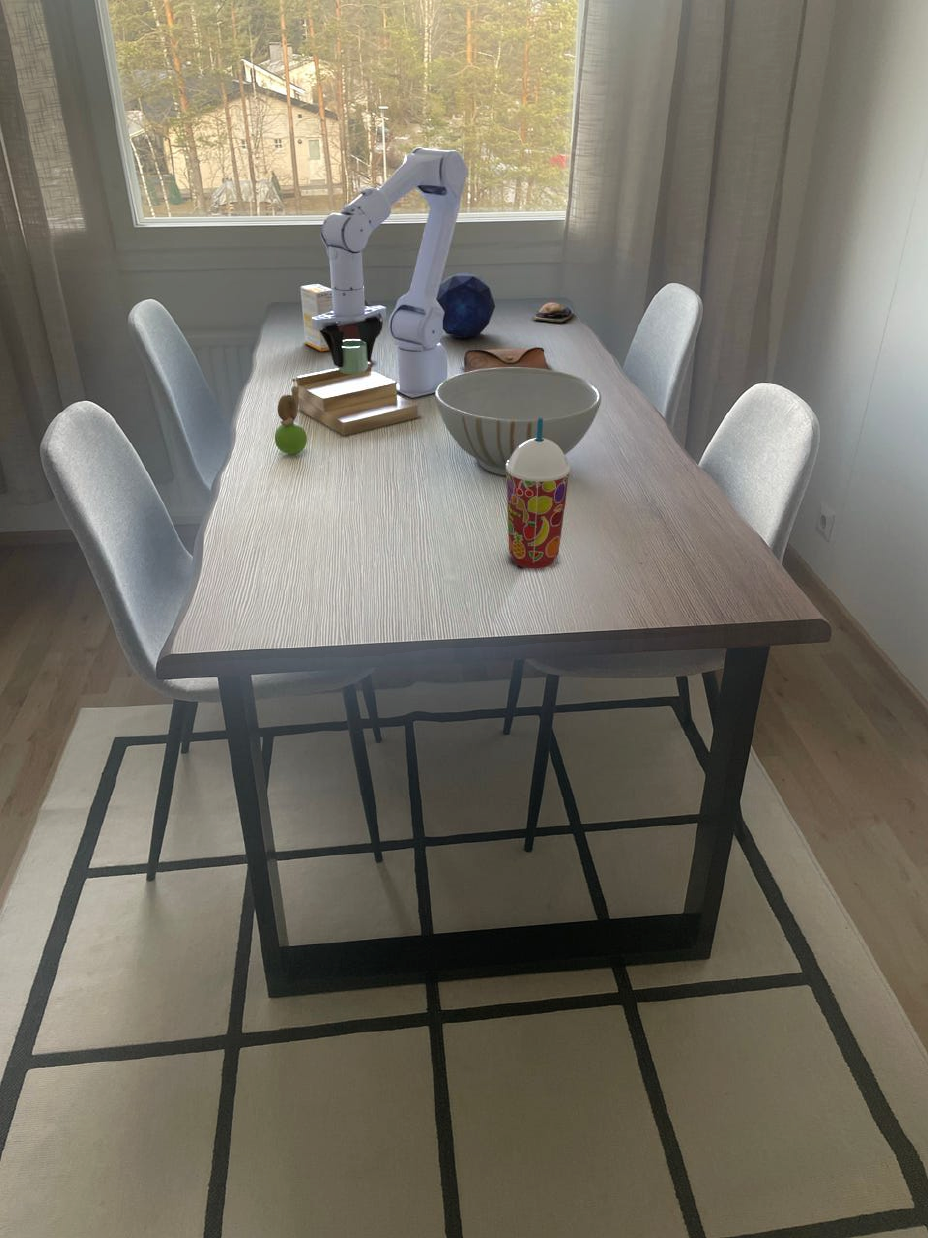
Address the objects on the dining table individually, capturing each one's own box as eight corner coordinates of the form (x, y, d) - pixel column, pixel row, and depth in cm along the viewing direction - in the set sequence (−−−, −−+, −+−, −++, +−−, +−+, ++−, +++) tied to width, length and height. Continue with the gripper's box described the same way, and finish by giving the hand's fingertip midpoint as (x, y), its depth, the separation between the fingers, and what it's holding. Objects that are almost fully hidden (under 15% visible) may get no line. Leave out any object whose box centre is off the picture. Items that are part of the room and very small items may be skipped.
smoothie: (499, 546, 129) (503, 408, 119) (558, 544, 130) (567, 406, 119) (506, 575, 122) (511, 431, 112) (568, 573, 123) (579, 430, 112)
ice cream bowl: (378, 372, 197) (374, 300, 189) (328, 369, 199) (322, 297, 191) (391, 358, 205) (388, 288, 197) (343, 355, 207) (338, 286, 199)
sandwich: (562, 324, 231) (563, 309, 229) (530, 320, 234) (531, 305, 232) (575, 314, 239) (576, 299, 237) (544, 311, 242) (545, 296, 240)
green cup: (357, 364, 175) (356, 337, 172) (373, 371, 171) (372, 344, 169) (332, 369, 172) (330, 342, 170) (348, 376, 169) (346, 349, 166)
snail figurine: (316, 447, 160) (310, 379, 154) (299, 461, 155) (292, 391, 149) (288, 443, 162) (281, 376, 156) (270, 456, 157) (262, 387, 150)
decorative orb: (516, 311, 220) (484, 254, 217) (483, 325, 209) (450, 265, 207) (475, 341, 229) (444, 286, 227) (442, 355, 219) (409, 298, 216)
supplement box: (339, 348, 212) (335, 289, 205) (320, 352, 209) (315, 292, 202) (323, 340, 217) (318, 282, 211) (304, 343, 215) (299, 285, 208)
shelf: (418, 417, 173) (417, 383, 170) (344, 435, 165) (342, 400, 162) (370, 393, 185) (368, 361, 181) (299, 409, 177) (296, 376, 173)
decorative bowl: (483, 507, 140) (484, 432, 134) (410, 448, 160) (408, 380, 154) (627, 475, 151) (635, 404, 144) (541, 424, 171) (545, 359, 164)
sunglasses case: (470, 376, 193) (467, 344, 193) (465, 384, 200) (462, 353, 200) (553, 372, 196) (551, 340, 195) (545, 380, 203) (543, 349, 202)
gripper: (323, 296, 157) (329, 375, 165) (394, 285, 165) (396, 360, 172) (303, 289, 162) (309, 365, 169) (372, 278, 170) (376, 352, 177)
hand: (352, 362), depth 171 cm, fingers closed on green cup, 5 cm apart
